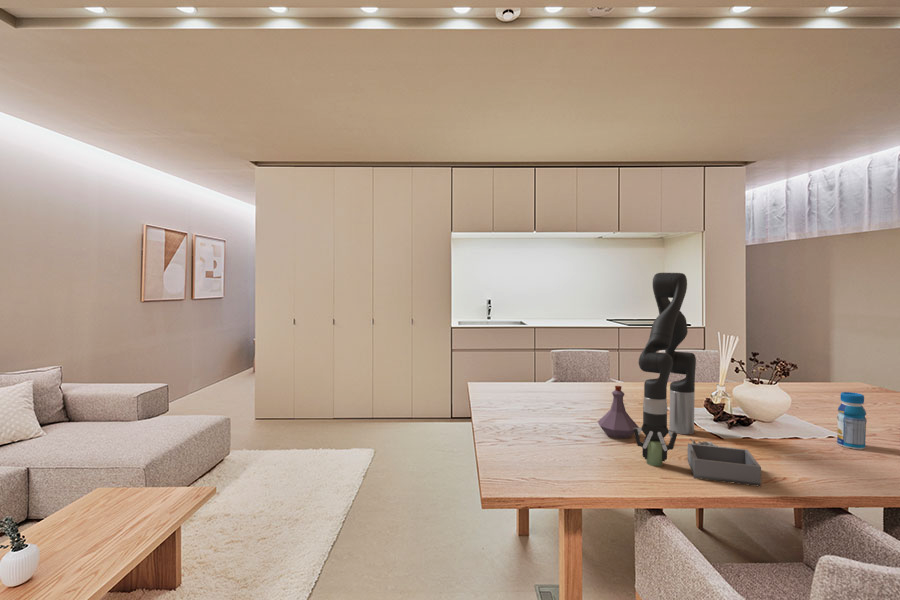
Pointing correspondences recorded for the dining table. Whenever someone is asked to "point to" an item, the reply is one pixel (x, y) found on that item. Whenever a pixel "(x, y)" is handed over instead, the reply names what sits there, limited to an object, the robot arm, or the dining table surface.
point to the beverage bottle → (851, 421)
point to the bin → (723, 464)
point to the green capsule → (654, 453)
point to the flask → (617, 418)
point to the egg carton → (703, 443)
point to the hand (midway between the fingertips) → (654, 459)
